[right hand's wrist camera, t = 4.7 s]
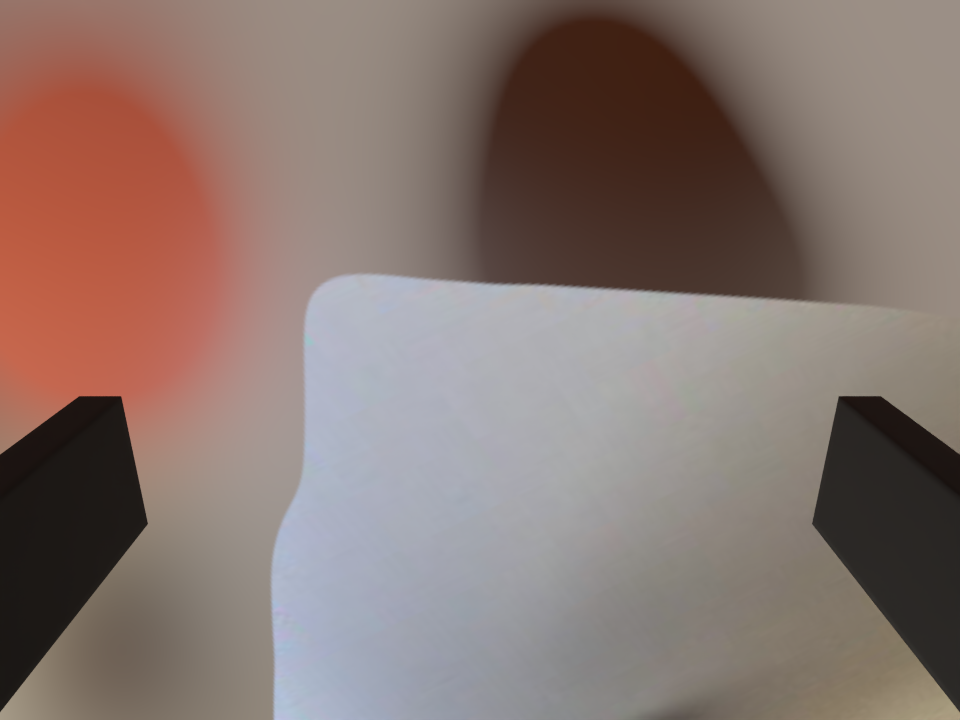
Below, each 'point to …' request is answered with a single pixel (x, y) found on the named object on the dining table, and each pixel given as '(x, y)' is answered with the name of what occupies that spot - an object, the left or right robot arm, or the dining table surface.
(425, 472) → the dining table surface
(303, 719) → the dining table surface
